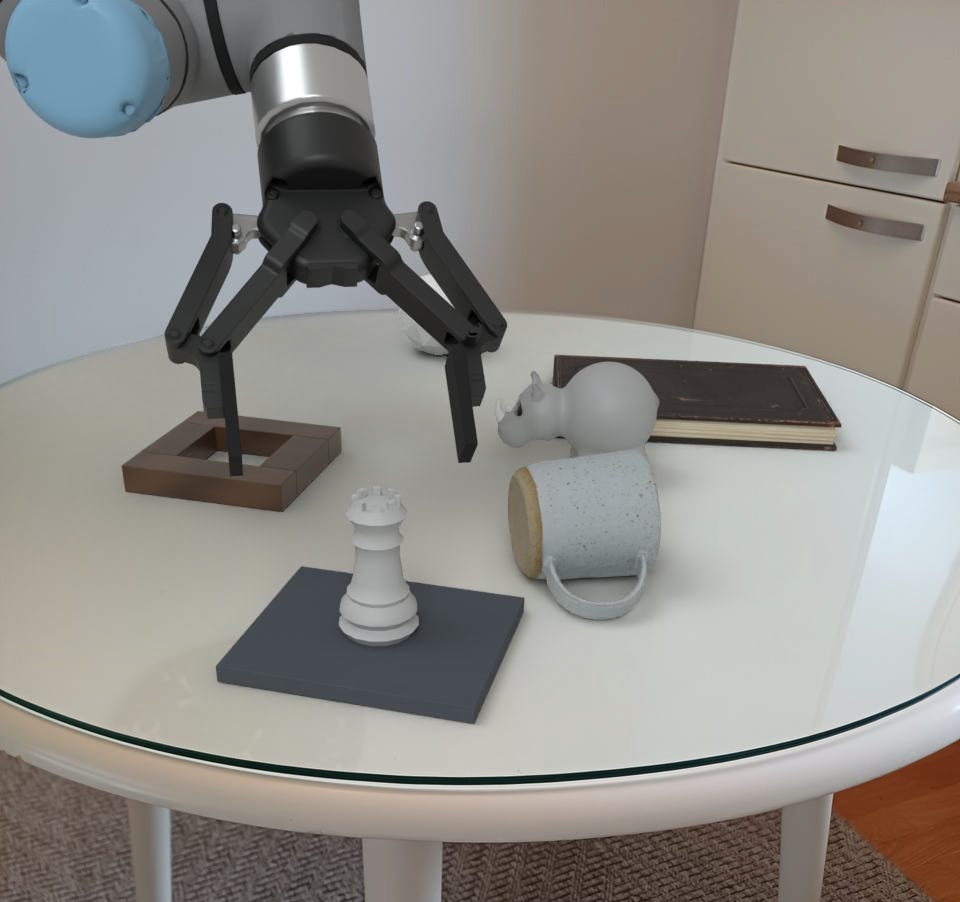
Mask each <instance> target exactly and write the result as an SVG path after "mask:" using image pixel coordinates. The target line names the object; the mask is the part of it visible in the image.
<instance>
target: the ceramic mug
mask: <svg viewBox="0 0 960 902" xmlns="http://www.w3.org/2000/svg"><path fill="white" fill-rule="evenodd" d="M507 493H508V494H507V495H508V496H507V519H508V521H507V522H508V530H509V536H510V543H511V549H512V552H513V553H512V554H513V556H514V559H515V563H516V565H517V567H518V568H519V570H520V571H521V572H522V573H523V575H525V576H527V577H528V578H530V579H534V580H535V579H536V580H544V581H545V580H546V584H547V587H548V590H549V591H550V593H551V595H552V596H553V598H554V599H555V600H556V601H557V603H558V604H559V606H561V607H562V608H563V609H564V610H566V611H568V612H569V613H571V614H573V615H575V616H578V617H581V618H584V619H586V620H587V619H588V620H594V621H605V620H606V621H607V620H614V619H617V618H621V617H623V616H625V615H627V614H628V613H630V612H631V611H633V609H634V608H635V607H636V606H637V605H638V604H639V602H640V601H641V598H642V596H643V593H644V590H645V586H646V583H647V579H648V574H649V573H650V572H651V571H652V570H653V568H654V567H655V565H656V562H657V558H658V554H659V551H660V544H661V537H662V536H661V535H662V530H661V527H662V517H661V515H662V514H661V506H660V501H659V499H660V497H659V493H658V487H657V482H656V481H655V476H654V472H653V470H652V467H651V464H650V462H649V463H648V461H647V459H646V458H645V456H644V455H643V454H642V453H641V452H640V451H638V450H636V449H628V450H622V451H615V452H609V453H603V454H595V455H588V456H581V457H574V458H570V457H566V458H556V459H550V460H549V459H548V460H543V461H538V462H534V463H531V464H528V465H526V466H523V467H520V468H518V469H517V470H516V471H514V474H513V475H512V476H511V479H510V481H509V483H508V491H507ZM627 576H628V577H629V576H637V583H636V584H635V586H634V587H633V588H632V590H631V591H629V592H628V594H627V595H625V596H624V597H622V598H621V599H619V600H615V601H608V602H607V601H603V602H602V601H600V602H599V601H592V600H587V599H585V598H583V597H580V596H578V595H575V594H574V593H573V592H572V591H570V590H569V589H568V588H567V586H566V585H564V584H563V582H562V580H572V579H573V580H574V579H581V578H583V579H584V578H585V579H586V578H612V577H627Z"/></svg>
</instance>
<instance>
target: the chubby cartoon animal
mask: <svg viewBox="0 0 960 902" xmlns="http://www.w3.org/2000/svg"><path fill="white" fill-rule="evenodd" d="M530 378H531V383H530V384H529V385H528V387H526V388H525V389H524V390H523V391H522V392H521V393H520V394H519V396H518V399H517V400H516V402H515V405H514V406H513V407H512V406H511V405H507V406H506V410H507V411H505V410H504V409H503V407H502V404H501V403H502V402H501V398H499V397H498V399H497V400H496V403H495V405H494V407H493V408H494V409H493V415H494V418H495V420H496V422H497V435H498V437H499V439H500V440H501V443H503V444H504V445H506V446H508V447H510V448H512V449H513V448H515V449H520V448H523V447H525V446H527V445H528V444H530V443H531V442H533V441H542V442H544V441H545V442H549V441H552V440H554V439H556V438H559V437H558V436H562V437H561V438H564V439H565V440H566V441H567V442H568V444H569V445H570V451H569V458H574V457H581V456H588V455H595V454H603V453H609V452H615V451H622V450H628V449H636V450H638V451H640V452H641V453H642V454H643V455H644V456H645V458H646V459H647V461H648V463H649V464H650V460H649V456H648V453H647V450H646V444H647V442H648V441H647V440H648V439H649V437H650V436H651V434H652V431H653V429H654V426H655V423H656V418H657V409H658V406H659V399H658V397H657V395H656V394H655V393H654V391H653V390H652V388H651V386H650V384H649V383H648V381H647V380H646V379H645V378H644V377H643V376H642V375H641V374H640V373H639V372H638V371H637V370H635V369H633V368H632V367H630V366H628V365H625V364H622V363H618V362H600V363H596V364H592V365H590V366H588V367H586V368H584V369H582V370H581V371H579V372H578V373H577V374H576V375H575V376H574V377H573V378H572V379H571V380H570V381H569V383H568V384H567V385H566V386H565V387H564V388H562V389H560V388H557V387H554V386H553V384H550V383H544V382H542V380H541V377H540V375H539V374H538V372H537V371H535V370H532V371H531V372H530Z"/></svg>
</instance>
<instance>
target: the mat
mask: <svg viewBox="0 0 960 902" xmlns="http://www.w3.org/2000/svg"><path fill="white" fill-rule="evenodd" d="M352 577H353V572H345V571H340V570H339V571H338V570H330V569H323V568H317V567H310V566H303V565H301V566H300V567H299V568H298V569H297V570H296V571H295V573H294V574H293V575H292V576H291V577H290V579H289V580H288V581H287V582H286V583H285V584H284V586H282V588H281V589H280V590H279V592H278V593H277V594H276V595H275V596H274V597H273V598H272V599H271V601H270V602H269V603H268V604H267V605H266V606H265V608H264V609H263V610H262V611H261V612H260V614H258V616H257V617H256V618H255V619H254V621H252V623H251V624H250V625H249V626H248V627H247V629H246V630H245V631H244V632H243V634H242V635H240V637H239V638H238V639H237V640H236V642H234V644H233V645H232V646H231V648H230V649H228V651H227V652H226V653H225V655H224V656H223V657H222V658H220V660H219V661H218V662H217V664H216V665H215V673H216V681H217V682H218V683H224V684H230V685H235V686H236V685H237V686H242V687H249V688H253V689H259V690H260V689H261V690H265V691H266V690H267V691H272V692H280V693H286V694H292V695H295V696H297V695H298V696H302V697H303V696H304V697H309V698H316V699H321V700H327V701H334V702H340V703H346V704H352V705H359V706H364V707H369V708H376V709H382V710H387V711H393V712H400V713H406V714H412V715H419V716H425V717H431V718H437V719H442V720H448V721H454V722H460V723H467V724H475V723H476V721H477V718H478V717H479V714H480V712H481V709H482V708H483V705H484V703H485V701H486V698H487V696H488V693H489V692H490V689H491V687H492V685H493V682H494V680H495V678H496V676H497V673H498V671H499V669H500V667H501V664H502V662H503V660H504V657H505V655H506V653H507V650H508V648H509V647H510V644H511V641H512V640H513V637H514V635H515V632H516V630H517V628H518V626H519V624H520V621H521V619H522V617H523V614H524V613H525V597H522V596H516V595H515V596H514V595H509V594H503V593H502V594H501V593H495V592H487V591H481V590H473V589H467V588H460V587H459V588H458V587H451V586H445V585H436V584H431V583H424V582H418V581H417V582H416V581H408V580H405V582H406V583H407V584H408V585H409V590H410V592H411V593H412V594H413V595H414V596H415V598H416V601H417V612H416V613H415V614H416V615H417V616H418V617H419V625H418V626H417V628H416V629H415V630H414V631H413V633H412V634H411V635H410V636H409V637H408V638H407V639H406V640H404V641H402V642H400V643H397V644H393V645H388V646H368V645H363V644H359V643H357V642H355V641H353V640H351V639H349V637H348V636H347V635H346V634H345V633H344V632H343V631H342V629H341V628H340V626H339V617H340V616H341V615H342V614H341V613H340V611H339V610H340V603H341V599H342V597H343V596H344V595H345V594H346V593H347V586H348V585H349V584H350V583H351V580H352Z"/></svg>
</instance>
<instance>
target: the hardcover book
mask: <svg viewBox="0 0 960 902" xmlns="http://www.w3.org/2000/svg"><path fill="white" fill-rule="evenodd" d="M600 362H618V363H622V364H625V365H628V366H630V367H632V368H633V369H635V370H637V371H638V372H639V373H640V374H641V375H642V376H643V377H644V378H645V379H646V380H647V381H648V383H649V384H650V386H651V388H652V390H653V391H654V393H655V394H656V395H657V397H658V399H659V406H658V409H657V418H656V423H655V426H654V429H653V431H652V434H651V436H650V437H649V439H648V440H647V442H649V443H650V442H651V443H671V444H673V443H674V444H690V445H691V444H694V445H713V446H714V445H715V446H731V447H733V446H735V447H751V448H752V447H753V448H755V447H756V448H774V449H775V448H777V449H795V450H798V449H799V450H817V451H837V449H838V446H837V444H836V443H835V440H836V438H837V433H836V431H837V430H836V428H842V423H841V422H840V419H839V418H838V416H837V415H836V412H834V410H833V408H832V406H831V405H830V403H829V401H828V400H827V399H826V396H825V395H824V393H823V392H822V391H821V388H820V387H819V386H818V384H817V382H816V381H815V378H814V377H813V376H812V374H811V372H810V371H809V369H808V367H807V366H806V365H799V364H797V365H796V364H795V365H794V364H775V363H753V362H752V363H750V362H748V363H747V362H727V361H705V360H687V359H686V360H684V359H663V358H662V359H661V358H643V357H641V358H639V357H619V356H617V357H616V356H597V355H595V356H594V355H576V354H575V355H574V354H573V355H572V354H554V357H553V371H552V386H554V387H557V388H560V389H562V388H564V387H565V386H566V385H567V384H568V383H569V381H570V380H571V379H572V378H573V377H574V376H575V375H576V374H577V373H578V372H579V371H581V370H582V369H584V368H586V367H588V366H590V365H592V364H596V363H600ZM557 438H563V437H562V436H558V437H557Z"/></svg>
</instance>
